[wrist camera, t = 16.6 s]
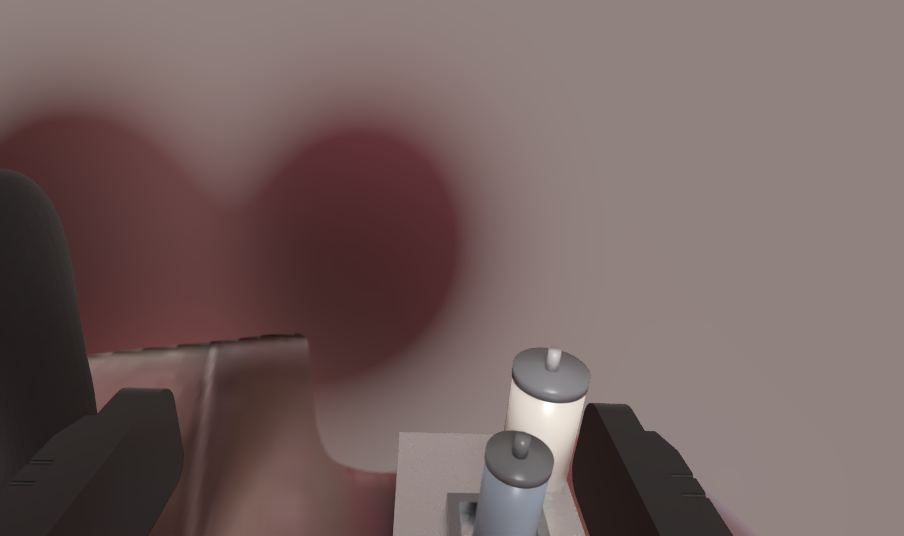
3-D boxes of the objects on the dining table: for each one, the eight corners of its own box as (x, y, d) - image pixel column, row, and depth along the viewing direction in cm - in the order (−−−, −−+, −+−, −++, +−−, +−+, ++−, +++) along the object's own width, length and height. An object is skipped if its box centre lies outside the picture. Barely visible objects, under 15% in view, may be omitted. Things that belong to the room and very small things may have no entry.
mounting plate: (385, 648, 35) (387, 626, 34) (399, 439, 54) (399, 420, 53) (617, 646, 36) (624, 624, 35) (549, 442, 56) (553, 425, 55)
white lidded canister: (504, 493, 47) (524, 371, 42) (494, 440, 54) (510, 328, 49) (577, 494, 48) (606, 374, 43) (558, 441, 55) (581, 332, 49)
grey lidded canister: (469, 582, 39) (490, 458, 34) (467, 525, 44) (486, 411, 39) (534, 588, 39) (564, 466, 34) (526, 531, 44) (551, 417, 39)
